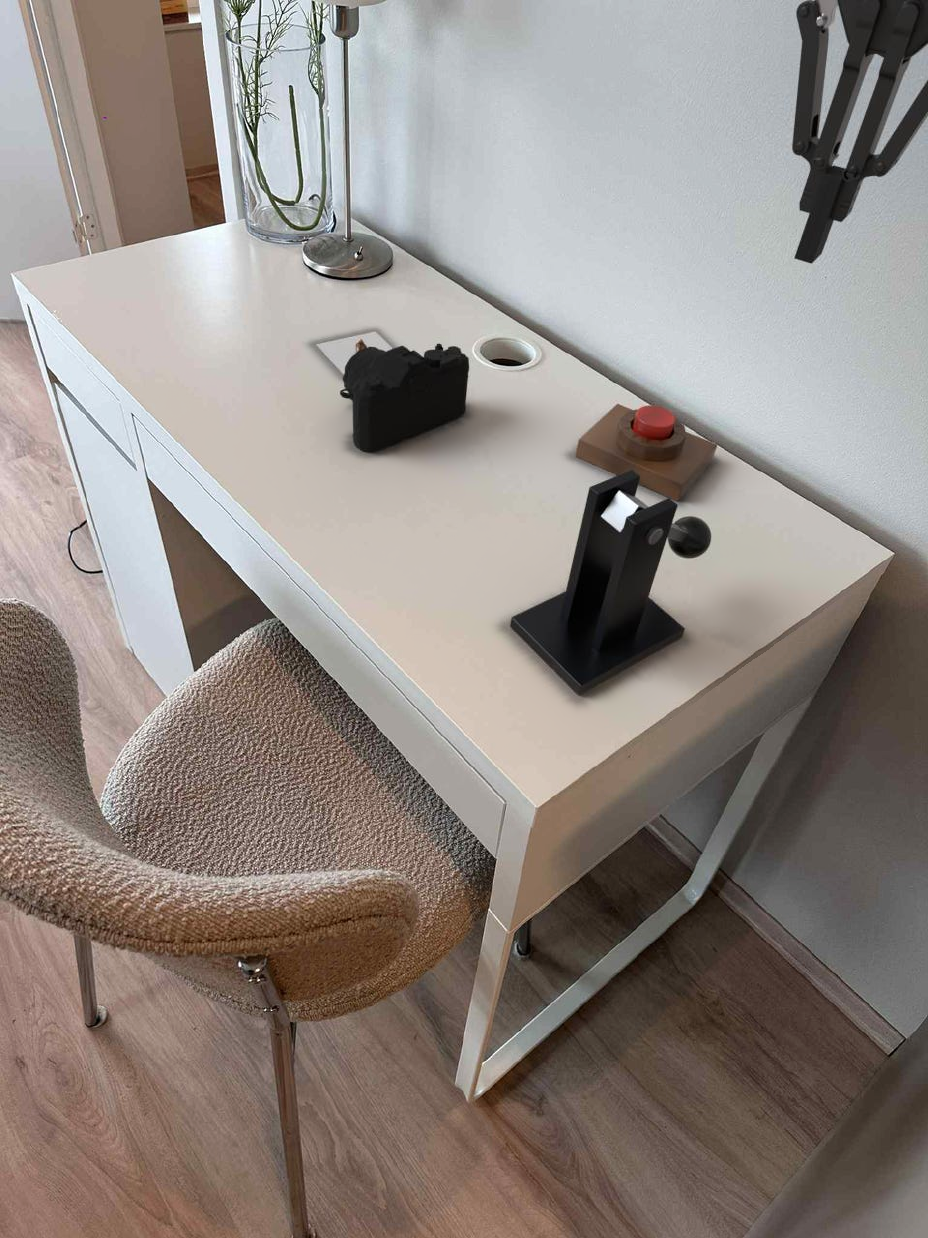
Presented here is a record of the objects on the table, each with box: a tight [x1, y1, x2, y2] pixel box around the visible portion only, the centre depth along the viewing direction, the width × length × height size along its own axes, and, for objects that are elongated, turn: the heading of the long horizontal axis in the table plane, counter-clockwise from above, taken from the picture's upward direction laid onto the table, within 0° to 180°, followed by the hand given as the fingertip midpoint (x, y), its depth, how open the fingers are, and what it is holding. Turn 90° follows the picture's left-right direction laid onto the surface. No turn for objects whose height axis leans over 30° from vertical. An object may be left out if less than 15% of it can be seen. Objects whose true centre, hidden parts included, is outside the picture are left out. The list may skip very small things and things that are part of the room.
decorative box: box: [315, 330, 394, 376], centre depth 104 cm, size 8×8×2 cm
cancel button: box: [633, 405, 676, 441], centre depth 91 cm, size 4×4×2 cm
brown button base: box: [575, 403, 718, 502], centre depth 93 cm, size 12×9×4 cm
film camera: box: [339, 343, 470, 453], centre depth 93 cm, size 15×10×9 cm, turn 130°
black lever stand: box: [509, 470, 686, 696], centre depth 71 cm, size 12×9×15 cm
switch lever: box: [601, 490, 712, 560], centre depth 71 cm, size 14×4×4 cm
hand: (808, 255), depth 73 cm, fingers closed
